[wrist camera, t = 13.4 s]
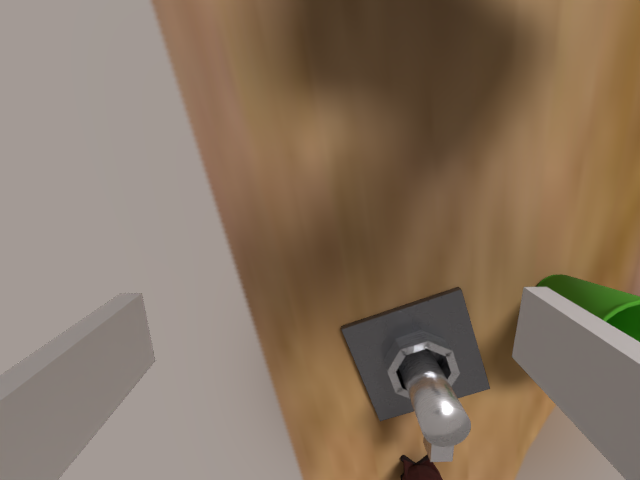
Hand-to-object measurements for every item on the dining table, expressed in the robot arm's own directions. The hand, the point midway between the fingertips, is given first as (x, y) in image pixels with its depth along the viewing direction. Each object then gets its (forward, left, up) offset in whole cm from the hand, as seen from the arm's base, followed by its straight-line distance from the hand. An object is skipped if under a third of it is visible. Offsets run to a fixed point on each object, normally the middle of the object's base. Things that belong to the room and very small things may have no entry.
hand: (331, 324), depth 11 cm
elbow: (-3, +26, -26) cm, 37 cm away
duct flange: (-4, +24, -27) cm, 36 cm away
